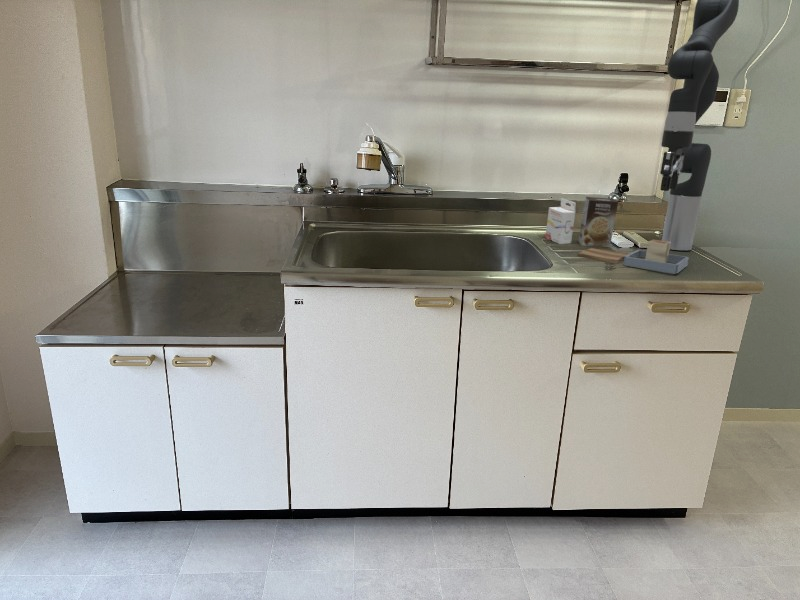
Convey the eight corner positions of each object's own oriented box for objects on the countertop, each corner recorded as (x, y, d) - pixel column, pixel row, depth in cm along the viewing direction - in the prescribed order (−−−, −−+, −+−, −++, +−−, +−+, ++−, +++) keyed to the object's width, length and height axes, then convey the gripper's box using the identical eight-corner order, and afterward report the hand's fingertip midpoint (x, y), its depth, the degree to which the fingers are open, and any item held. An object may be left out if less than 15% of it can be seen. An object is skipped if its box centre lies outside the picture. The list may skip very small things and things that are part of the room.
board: (590, 251, 183) (591, 247, 183) (629, 257, 177) (629, 253, 176) (577, 257, 174) (577, 253, 174) (616, 263, 167) (617, 259, 167)
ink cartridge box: (543, 241, 196) (549, 198, 190) (555, 240, 197) (561, 197, 192) (558, 247, 188) (565, 202, 183) (571, 246, 190) (577, 202, 185)
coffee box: (581, 248, 187) (588, 199, 181) (577, 244, 193) (584, 196, 187) (610, 250, 186) (618, 201, 181) (605, 245, 192) (613, 197, 187)
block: (648, 262, 171) (652, 239, 169) (666, 265, 168) (670, 241, 166) (644, 265, 167) (648, 241, 165) (662, 268, 164) (666, 243, 162)
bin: (636, 257, 177) (638, 249, 177) (687, 265, 169) (689, 257, 168) (622, 265, 166) (623, 256, 165) (676, 274, 158) (678, 265, 157)
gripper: (670, 129, 164) (660, 187, 169) (657, 128, 153) (647, 189, 158) (699, 130, 160) (688, 189, 165) (688, 129, 149) (676, 192, 154)
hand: (668, 189), depth 161 cm, fingers open, 8 cm apart
